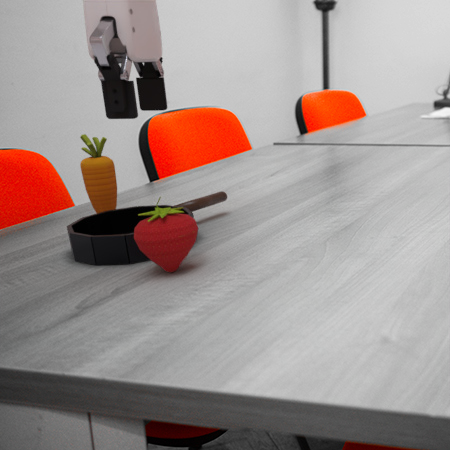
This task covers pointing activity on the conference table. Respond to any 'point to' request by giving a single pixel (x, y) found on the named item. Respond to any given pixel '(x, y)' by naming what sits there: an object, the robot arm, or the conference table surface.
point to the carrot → (99, 176)
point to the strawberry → (166, 236)
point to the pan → (121, 232)
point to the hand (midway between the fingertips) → (139, 114)
